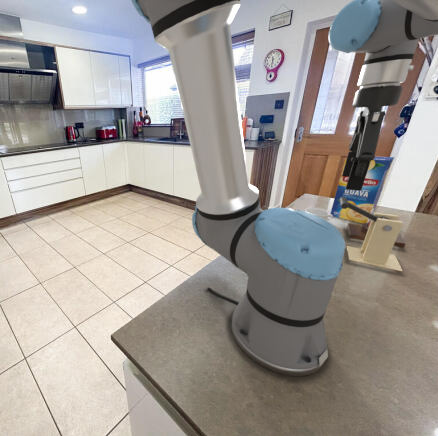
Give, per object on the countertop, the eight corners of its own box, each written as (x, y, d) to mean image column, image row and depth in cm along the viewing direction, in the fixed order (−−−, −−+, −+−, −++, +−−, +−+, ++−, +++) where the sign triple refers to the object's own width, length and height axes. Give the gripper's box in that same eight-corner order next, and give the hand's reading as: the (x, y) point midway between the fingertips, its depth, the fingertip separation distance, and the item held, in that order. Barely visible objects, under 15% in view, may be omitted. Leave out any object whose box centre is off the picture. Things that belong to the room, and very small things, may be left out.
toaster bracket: (348, 263, 62) (363, 219, 57) (345, 249, 68) (359, 208, 63) (400, 274, 57) (422, 227, 52) (393, 258, 63) (412, 215, 58)
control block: (348, 240, 72) (352, 229, 71) (346, 229, 79) (349, 218, 77) (402, 250, 66) (408, 238, 64) (395, 237, 73) (400, 225, 71)
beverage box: (335, 210, 93) (352, 154, 84) (372, 218, 85) (394, 157, 76) (329, 215, 90) (345, 157, 81) (366, 224, 81) (389, 160, 73)
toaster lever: (338, 208, 60) (345, 200, 58) (336, 201, 64) (343, 194, 63) (389, 235, 56) (399, 228, 55) (384, 225, 60) (393, 219, 59)
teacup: (301, 228, 81) (304, 215, 80) (295, 216, 90) (297, 205, 88) (335, 230, 78) (339, 218, 76) (325, 219, 87) (328, 207, 85)
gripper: (423, 79, 39) (379, 199, 48) (390, 87, 58) (363, 173, 66) (364, 84, 43) (333, 194, 52) (351, 91, 62) (330, 171, 70)
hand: (350, 182), depth 59 cm, fingers open, 13 cm apart
